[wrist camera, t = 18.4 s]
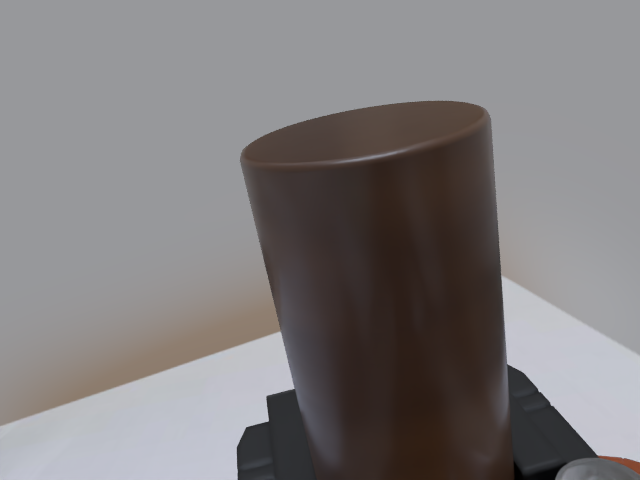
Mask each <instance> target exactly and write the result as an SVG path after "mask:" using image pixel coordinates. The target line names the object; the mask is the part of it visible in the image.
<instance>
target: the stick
mask: <svg viewBox="0 0 640 480" xmlns="http://www.w3.org/2000/svg"><path fill="white" fill-rule="evenodd" d="M240 162H241V167H242V171H243V174H244V179H245V183H246V187H247V192H248V196H249V200H250V204H251V208H252V212H253V216H254V221H255V225H256V229H257V233H258V237H259V242H260V245H261V250H262V254H263V258H264V262H265V267H266V271H267V274H268V279H269V283H270V288H271V292H272V296H273V300H274V304H275V308H276V312H277V317H278V321H279V325H280V329H281V333H282V338H283V342H284V346H285V350H286V354H287V358H288V363H289V367H290V371H291V375H292V379H293V383H294V388H295V392H296V396H297V400H298V404H299V408H300V413H301V417H302V421H303V425H304V429H305V433H306V438H307V442H308V446H309V450H310V454H311V459H312V463H313V467H314V471H315V475H316V479H317V480H515V476H514V461H513V446H512V431H511V416H510V401H509V386H508V371H507V356H506V340H505V325H504V310H503V295H502V280H501V265H500V252H499V251H500V250H499V235H498V220H497V205H496V190H495V176H494V160H493V145H492V130H491V118H490V115H489V114H488V112H487V110H486V109H484V108H483V107H481V106H478V105H474V104H470V103H465V102H454V101H421V102H407V103H397V104H389V105H382V106H374V107H368V108H362V109H356V110H350V111H345V112H340V113H336V114H331V115H327V116H323V117H319V118H315V119H311V120H307V121H304V122H300V123H297V124H293V125H290V126H287V127H284V128H282V129H279V130H276V131H274V132H271V133H269V134H267V135H265V136H263V137H260V138H259V139H257V140H255V141H254V142H252V143H251V144H249V145H248V146H246V147H245V148H244V149H243V151H242V153H241V157H240Z"/></svg>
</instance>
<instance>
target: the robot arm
mask: <svg viewBox="0 0 640 480" xmlns="http://www.w3.org/2000/svg"><path fill="white" fill-rule="evenodd" d="M507 371H508V386H509V401H510V416H511V431H512V446H513V461H514V476H515V480H640V475H639V474H638V473H636V472H635V471H633V470H632V469H630V468H628V467H627V466H625V465H622V464H620V463H618V462H615V461H611V460H607V459H602V458H599V457H598V456H597V455H596V453H595V452H594V451H593V450H592V449H591V448H590V447H589V446H588V444H587V443H586V442H585V441H584V440H583V439H582V438H581V437H580V436H579V434H578V433H577V432H576V431H575V430H574V429H573V428H572V427H571V425H570V424H569V423H568V422H567V421H566V420H565V419H564V418H563V417H562V415H561V414H560V413H559V412H558V411H557V410H556V409H555V408H554V406H551V405H550V402H549V401H548V400H547V399H546V398H545V396H544V395H543V394H542V393H541V392H539V391H538V389H537V387H536V386H535V385H534V384H533V383H532V382H531V381H530V380H529V379H528V377H527V376H526V375H525V374H524V373H523V372H521V371H519V370H517V369H515V368H513V367H511V366H510V365H508V364H507ZM266 398H267V407H268V416H269V422H265V423H261V424H257V425H253V426H250V427H246V429H245V431H244V433H243V436H242V438H241V440H240V442H239V444H238V446H237V469H238V480H317V479H316V475H315V471H314V467H313V463H312V459H311V454H310V450H309V446H308V442H307V438H306V433H305V429H304V425H303V421H302V417H301V413H300V408H299V404H298V400H297V396H296V392H295V389H292V390H288V391H284V392H281V393H277V394H273V395H269V396H267V397H266Z"/></svg>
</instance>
